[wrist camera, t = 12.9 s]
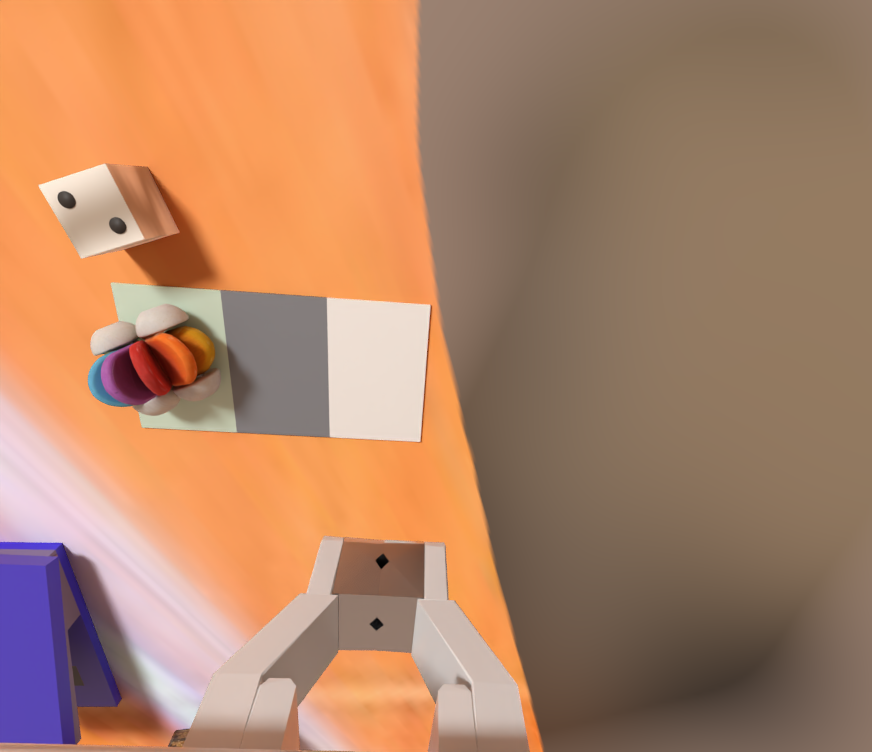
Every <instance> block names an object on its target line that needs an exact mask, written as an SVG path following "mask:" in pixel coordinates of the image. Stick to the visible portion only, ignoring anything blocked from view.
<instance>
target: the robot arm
mask: <svg viewBox="0 0 872 752" xmlns="http://www.w3.org/2000/svg"><path fill="white" fill-rule="evenodd" d="M338 650H377V651H391V652H406V653H411V655H412V657H413V659H414V661H415V663H416V665H417V667H418V669H419V671H420V673H421V675H422V677H423V679H424V682H425V684H426V686H427V688H428V690H429V692H430V694H431V696H432V698H433V700H434V702H435V704H436V707H435V713H434V718H433V724H432V730H431V736H430V742H429V748H428V752H530V751H529V745H528V740H527V734H526V729H525V723H524V718H523V712H522V707H521V701H520V695H519V690H518V685H517V684H516V682H515V681H514V680H513V678H512V677H511V676H510V674H509V673H508V672H507V670H506V669H505V668H504V666H503V665H502V664H501V662H500V661H499V660H498V658H497V657H496V655H495V654H494V653H493V651H492V650H491V649H490V647H489V646H488V645H487V643H486V642H485V641H484V639H483V638H482V637H481V635H480V634H479V633H478V631H477V630H476V629H475V627H474V626H473V625H472V623H471V622H470V621H469V619H468V618H467V617H466V615H465V614H464V613H463V611H462V610H461V609H460V607H459V606H458V604H457V603H456V602H455V601H453V600H448V582H447V564H446V546H445V544H444V543H441V542H421V541H398V540H374V539H362V538H350V537H332V536H324V537H323V539H322V541H321V544H320V548H319V551H318V555H317V558H316V562H315V565H314V569H313V572H312V576H311V579H310V583H309V586H308V590H307V593H300V594H299V595H298V596H297V597H296V598H295V599H293V600H292V601H291V602H290V603H289V604H288V605H287V606H286V607H285V608H284V609H283V610H282V611H281V612H279V613H278V614H277V615H276V616H275V617H274V618H273V619H272V620H271V621H270V622H269V623H268V624H267V625H265V626H264V627H263V628H262V629H261V630H260V631H259V632H258V633H257V634H256V635H255V636H254V637H253V638H251V639H250V640H249V641H248V642H247V643H246V644H245V645H244V646H243V647H242V648H241V649H240V650H239V651H237V652H236V653H235V654H234V655H233V656H232V657H231V658H230V659H229V660H228V661H227V662H226V663H225V664H223V665H222V666H221V667H220V668H219V669H218V670H217V671H216V672H215V673H214V674H213V676H212V679H211V681H210V683H209V686H208V688H207V690H206V693H205V695H204V697H203V700H202V702H201V705H200V707H199V709H198V712H197V714H196V716H195V719H194V721H193V723H192V726H191V728H190V730H189V733H188V735H187V737H186V740H185V742H184V744H183V747H152V746H112V745H72V744H32V743H0V752H353V751H312V750H300V743H299V726H298V709H297V707H298V706H299V704H300V703H301V702H302V700H303V699H304V698H305V696H306V695H307V694H308V692H309V691H310V690H311V688H312V687H313V685H314V684H315V683H316V681H317V680H318V679H319V677H320V676H321V675H322V673H323V672H324V671H325V669H326V668H327V667H328V665H329V664H330V663H331V661H332V660H333V659H334V657H335V656H336V655H337V653H338Z"/></svg>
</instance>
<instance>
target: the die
mask: <svg viewBox="0 0 872 752" xmlns="http://www.w3.org/2000/svg"><path fill="white" fill-rule="evenodd" d="M38 186H39V188H40V189H41V191H42V193H43V194H44V196H45V198H46V200H47V201H48V203H49V205H50V206H51V208H52V210H53V211H54V213H55V215H56V216H57V218H58V220H59V222H60V223H61V225H62V227H63V228H64V230H65V232H66V233H67V235H68V237H69V238H70V240H71V242H72V244H73V245H74V247H75V249H76V250H77V252H78V254H79V255H80V257H81V258H86V257H91V256H96V255H101V254H106V253H111V252H115V251H120V250H125V249H128V248H131V247H135V246H138V245H141V244H144V243H148V242H151V241H154V240H157V239H161V238H164V237H167V236H170V235H174V234H177V233H180V232H179V230H178V228H177V226H176V224H175V222H174V220H173V218H172V216H171V213H170V211H169V209H168V207H167V205H166V203H165V201H164V199H163V197H162V195H161V193H160V191H159V189H158V187H157V185H156V183H155V181H154V179H153V177H152V175H151V173H150V171H149V169H148V167H142V166H129V165H117V164H102V165H99V166H96V167H93V168H90V169H87V170H84V171H81V172H78V173H75V174H72V175H69V176H65V177H62V178H59V179H56V180H53V181H50V182H47V183H44V184H41V185H38Z"/></svg>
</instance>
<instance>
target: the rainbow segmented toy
mask: <svg viewBox="0 0 872 752" xmlns="http://www.w3.org/2000/svg"><path fill="white" fill-rule="evenodd" d="M188 319H189V317H188V315H187V314H186V313H185V312H184V311H183V310H182V309H180V308H178V307H176V306H174V305H170V304H162V305H160V306H157V307H154V308H151V309H148V310H146V311H143V312H141V313H140V314H139V316H138V318H137V320H136V325H134V324H132V323H129V322H124V321H119V322H116V323H114V324H111V325H109V326H106V327H104V328H101V329H99V330H96V331H95V333H94V334H93V336H92V338H91V350H92V353H93V354H94V355H95V356H97V355H100V354H105V355H104V356H102V357H100V358H99V359H98V360H97V361H96V362H95V363H94V364H93V366H92V367H91V369H90V371H89V375H88V385H89V389H90V391H91V393H92V394H93V396H94V397H95V398H96V399H98V400H99V401H101V402H103V403H105V404H108V405H111V406H117V407H127V406H133V408H134V409H135V410H137V411H138V412H140V413H142V414H145V415H150V416H158V415H161V414H164V413H166V412H168V411H170V410H171V409H173V408H174V407H176V406H177V405H178V403H179V401H180V399H181V398H182V399H185V400H188V401H200V400H203V399H205V398H207V397H209V396H211V395H212V394H214V393H215V392H216V391H217V390H218V388H219V386H220V383H221V373H220V370H219V369H218V368H212V369H209V368H210V366H211V365H212V363H213V361H214V358H215V347H214V344H213V342H212V341H211V339H210V338H209V337H208V336H207V335H206V334H204V333H203V332H202V331H200V330H198V329H196V328H193V327H188V326H181V327H178V328H175V329H172V330H168V331H166V330H167V329H169V328H171V327H173V326H176V325H178V324H180V323H182V322H184V321H186V320H188ZM165 331H166V332H165ZM139 337H140V338H142V339H145V340H138V338H139Z"/></svg>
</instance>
